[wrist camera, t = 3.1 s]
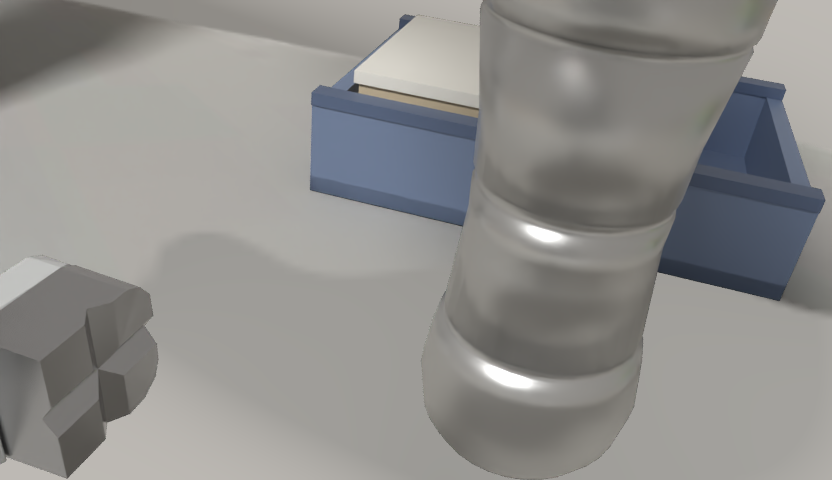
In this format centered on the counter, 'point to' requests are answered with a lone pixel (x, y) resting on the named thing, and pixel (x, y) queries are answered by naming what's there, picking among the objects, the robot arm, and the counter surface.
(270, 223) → the counter surface
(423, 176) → the tote
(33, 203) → the counter surface
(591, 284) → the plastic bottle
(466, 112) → the carton
